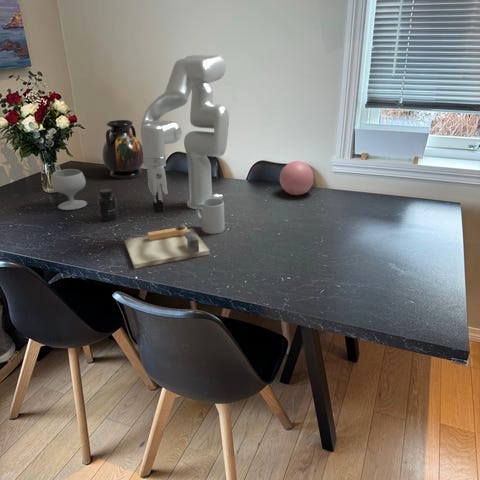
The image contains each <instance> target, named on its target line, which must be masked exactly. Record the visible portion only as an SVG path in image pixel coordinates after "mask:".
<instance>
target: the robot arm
mask: <svg viewBox="0 0 480 480" xmlns="http://www.w3.org/2000/svg"><path fill="white" fill-rule="evenodd" d="M225 73H226V62H225V60H224V58H223V57H222V56H221V55H219V54H217V55H216V54H215V55H214V54H213V55H211V54H210V55H209V54H208V55H204V54H202V55H201V54H195V55H194V54H193V55H187V56H186V57H184V58H180V59H178V60H176V62H175V63H174V65H173V67H172V71H171V73H170V76H169V79H168V81H167V85H166V87H165V91H164V92H163V93H162V94H161V95H160V96H158V97H157V98H156V99H155V100H154V101H152V103H150V105H149V106H148V107H147V108H146V110H145V111H144V112H145V113H144V115H143V118H142V121H141V124H140V137H141V138H140V139H141V145H142V151H143V162H144V163H143V167H144V168H146V172H147V185H148V190H149V191H150V192H151V194H152V200H153V201H152V206H153V212H154V213H155V214H159V213H164V201H163V200H164V199H163V194H164V195H165V196H167V195H168V185H167V178H166V175H167V174H166V170H165V167H166V166H167V162H166V161H167V159H166V150H165V149H166V148H165V147H166V145H168V144H169V145H170V144H174V143H177V142H178V141H179V140H180V139H181V137H182V133H183V132H182V131H183V130H182V127H181V126H180V124H179V123H178V122H176V121H171V120H160V119H161V118H162V117H163V116H164V115H165V114H167V113H169V112H171V111H175V110H176V109H179V108H180V107H183V106H185V105H186V104H187V103H188V101H189V97H190V94H191V100H190V112H189V113H190V114H189V120H190V124H191V126H193V127H195V128H199V129H211V130H213V131H202V130H193V131H189V132H187V133H186V135H185V136H184V140H183V144H184V151H185V153H186V159H187V170H188V185H189V186H188V187H189V198H190V199H189V200H188V201H186V206H187V207H188V208H189V209H192V210H196V206H197V205H198V204H200V203H201V202H202V201H204V200H206V199H220V200H222V199H224V197H223V194H218V193H214V194H213V189H212V187H213V186H212V184H213V183H212V166H211V162H210V160H209V158H208V157H221V156H222V157H223V156H224V155H225V153H226V151H227V145H228V135H229V124H230V123H229V122H230V114H229V110H228V108H227V107H226V106H225V105H223V104H218V103H213V97H214V96H213V95H214V91H213V88H212V86H211V85H210V84H211V83H214V82H216V81H218V80H219V81H220V79H222V78H223V77H224V76H225ZM199 211H201V207H199Z"/></svg>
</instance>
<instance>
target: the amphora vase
mask: <svg viewBox="0 0 480 480" xmlns="http://www.w3.org/2000/svg"><path fill="white" fill-rule="evenodd" d="M106 126H107V127H109V129H107V130H106V133H105V142H104V144H103V147H102V161H103V163H104V165H105V167H106V168H107V169H108V170H110V173H109V175H110V176H111V177H112V178H114V179H119V180H127V179H128V180H129V179H133V178H137V177H139V176H141V174H142V173H143V172H142V169H141V168H142V166H144V162H143V151H142V143H141V142H140V140H139V139H137V135H136V128H135V127H134V125H133V121H132V120H127V119H118V120H112V121H111V120H110V121H107V122H106ZM130 129H131V130H130Z"/></svg>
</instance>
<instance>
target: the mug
mask: <svg viewBox="0 0 480 480" xmlns="http://www.w3.org/2000/svg"><path fill="white" fill-rule="evenodd" d="M199 207H201V210H199ZM200 211H201V213H200ZM195 213H196V214H195V215H196V218H197V219H198V220H199V221H201V229H202V231H203V233H205V234H208V233H209V235H216V234H217V233H218V234H221V233H223V232H224V231H225V227H226V226H225V202H224V200H222V199H206V200H204V201H202V202H201V203H200V204H198V205H197V206H196V209H195Z"/></svg>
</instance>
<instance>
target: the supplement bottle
mask: <svg viewBox="0 0 480 480" xmlns="http://www.w3.org/2000/svg"><path fill="white" fill-rule="evenodd" d="M99 196H100V197H98V198H97V204H98V209H99V217H100V220H101V221H103V222H114V221H116V220H117V219H118V217H119V214H118V207H117V206H118V205H117V199H116V197H115V196H114V193H113V190H112V189H111V188H104V189H100V190H99Z"/></svg>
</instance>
